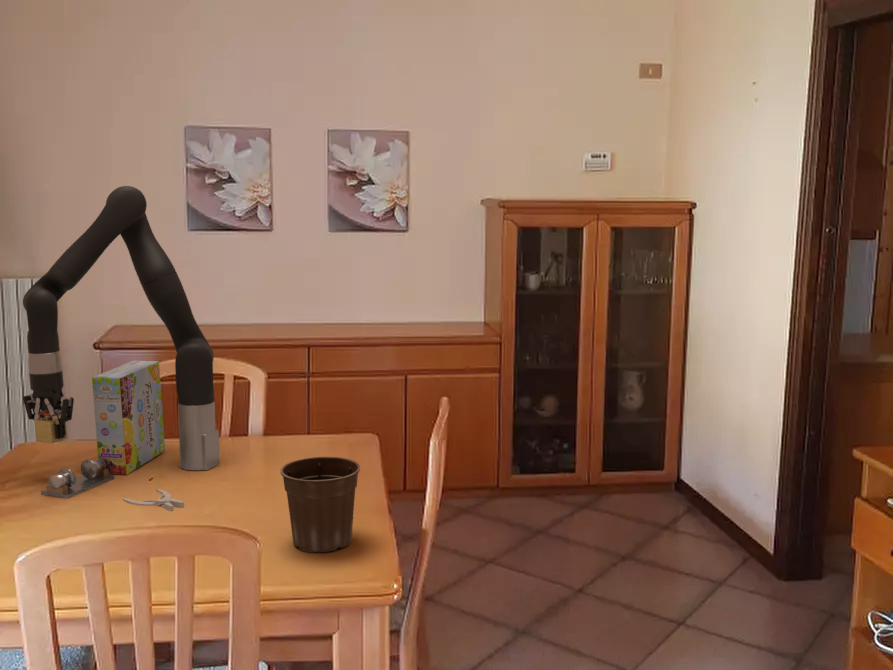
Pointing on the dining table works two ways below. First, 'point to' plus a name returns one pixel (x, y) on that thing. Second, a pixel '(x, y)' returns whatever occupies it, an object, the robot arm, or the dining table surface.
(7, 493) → the dining table surface
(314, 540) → the plant pot
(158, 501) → the pliers
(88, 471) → the flanged cylinder mounting plate
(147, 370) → the snack box
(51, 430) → the push button
